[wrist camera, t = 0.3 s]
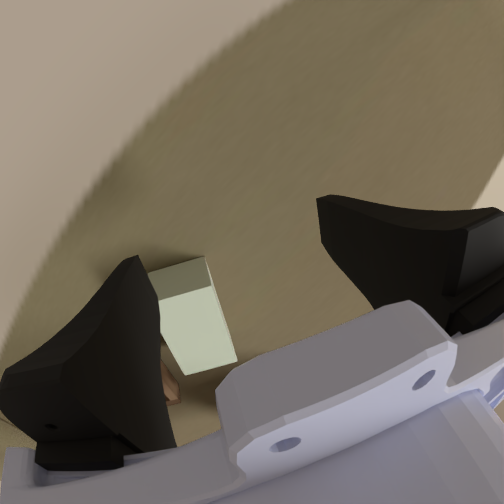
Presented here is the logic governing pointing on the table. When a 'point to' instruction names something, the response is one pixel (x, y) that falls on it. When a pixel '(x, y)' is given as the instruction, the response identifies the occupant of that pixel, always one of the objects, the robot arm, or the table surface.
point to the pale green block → (192, 316)
